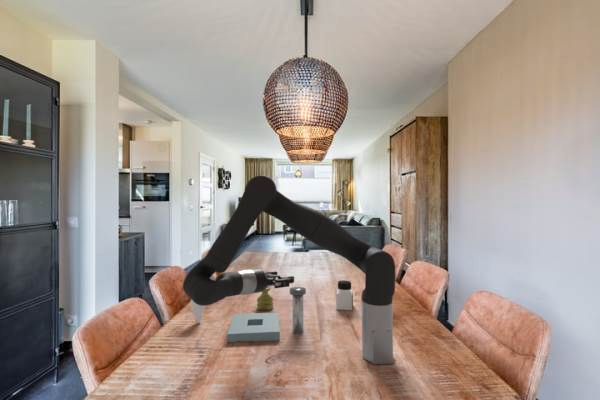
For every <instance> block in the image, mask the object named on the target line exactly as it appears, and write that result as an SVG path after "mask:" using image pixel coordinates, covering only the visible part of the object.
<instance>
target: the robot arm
mask: <svg viewBox="0 0 600 400" xmlns="http://www.w3.org/2000/svg"><path fill="white" fill-rule="evenodd" d="M262 212H263V213H265V214H268V215H269V216H271V217H273V218H274V219H277V220H279V221H281V222H282V223H283V224H284V225H286V226H287V227H288V228H290V229H291V230H293V231H294V232H295V233H297V234H299V235H300V236H301V237H303V238H304V239H306V240H307V241H308V242H309V241H310V242H311V243H313V244H314V245H315V246H318V247H319V248H321V249H323V250H326V251H328V252H330V253H333V254H336V255H339V256H340V257H343V258H344V259H346V260H347V261H349V262H350V263H351V264H352V265H354V266H355V267H357V268H358V269H359V270H360V271H361V272H362V273H363V274H365V276H364V277H365V281H364V284H365V286H364V289H363V290H362V292H361V295H362V301H361V348H362V349H361V350H362V351H361V353H362V357H363V358H364V360H366V361H368V362H369V363H371V364H372V365H385V364H389V365H390V364H393V363H394V339H393V338H394V335H393V333H394V330H393V329H394V328H393V327H394V325H393V324H394V323H393V322H394V321H393V319H394V318H393V315H394V314H393V312H394V311H393V309H394V308H393V300H394V299H393V298H394V295H395V292H396V291H395V290H396V264H395V260H394V258H393V256H392V255H391V254H390V253H389V252H388V251H385V250H383V249H380V248H378V247H375V246H372V245H370V244H368V243H367V242H364V241H362V240H360V239H359V238H356V237H354V235H352V234H351V233H349V231H347V230H346V229H345V228H344V227H343V226H342V225H341V224H339V223H338V222H337V221H335V220H334V219H332V218H331V217H329V216H327V215H325V214H324V213H322V212H321V211H319V210H317V209H314V208H312V207H309V206H307V205H304V204H301V203H299V202H297V201H294V200H292V199H290V198H289V197H286V196H285V194H282V193H281V192H280V191H278V190H277V186H276V183H275V181H274V180H273V179H272V178H271V177H269V176H267V175H261V174H260V175H256V176H254V177H253V176H252V178H250V179H249V180H248V181H247V183H246V185H245V187H244V191H243V194H242V196H241V198H240V201H239V203H238V205H237V207H236V209H235V211H234V212H233V214H232V215H231V217H230V218H229V220H228V221H227V223H226V224H225V226H224V228H223V229H222V230H221V232H220V233H219V235H218V236H217V238H216V239H215V240H214V242H213V243H212V245H211V246H210V248H209V249H208V251H207V253H206V255H205V256H204V257H203V258H202V259H200V261H199V262H198V263H196V265H195V266H194V267H193V268H191V270H190V271H189V272H188V273H187V275H186V276H185V278H184V280H183V284H182V290H183V292H184V293H185V294H186V295H187V296H188V297H189V298H190V299H191V300H193V301H194V302H195V303H196V304H198V305H201V306H205V307H206V306H211V305H213V304H216V303H218V302H220V301H222V300H224V299H226V298H229V297H235V296H245V295H251V294H258V293H262V291H263V290H264V289H265V287H266V286H267V287H270V288H271V287H274V288H275V289H280V288H288V287H289V288H290V284H294V283H295V276H293V275H291V276H290V275H289V276H281V275H279V274H278V271H267V270H266V271H265V270H263V269H261V268H250V269H241V270H236V271H229V272H226V271H227V270H228V268H229V266H230V264H231V263H232V262H233V261H234V259H235V257H236V256H237V254H238V252H239V251H240V248H241V247H242V245H243V242H244V241H245V239H246V237H247V235H248V234H249V231H250V230H251V228H252V227H253V225H254V224H255V222H256V220H258V218H259V216H260V215H261V214H262ZM216 272H217V273H220V274H218V275H217V277H216V278H215V279H211V277H212V276H213V275H214V274H215V273H216Z"/></svg>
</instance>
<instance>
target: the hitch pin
mask: <svg viewBox="0 0 600 400" xmlns="http://www.w3.org/2000/svg"><path fill="white" fill-rule="evenodd" d="M306 290H307V288H306V287H304V286H292V287H289V294H290V296H292V332H293V333H295V334H300V333H303V332H304V295H306V293H307V291H306Z"/></svg>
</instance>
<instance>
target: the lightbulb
mask: <svg viewBox="0 0 600 400" xmlns="http://www.w3.org/2000/svg"><path fill="white" fill-rule="evenodd" d="M189 306H190V308H191V310H192V312H193V316H194V323H196V324H200V323H202V320H203V313H204V310H205V308H206V306H201V305H198V304H196V303H195V302H194V301H193V300H192V299H191V300H190V302H189Z"/></svg>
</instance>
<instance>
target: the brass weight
mask: <svg viewBox="0 0 600 400" xmlns="http://www.w3.org/2000/svg"><path fill="white" fill-rule="evenodd" d="M270 290H271V287H267V286H266V287H265V289H264V290H263V291H262V292H261V294H260V295H259V296H258V297H257V298H256V309H257V310H258V311H261V312H267V311H271V310H272V309H274V297H273V296H272V295H271V294H269V292H270Z"/></svg>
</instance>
